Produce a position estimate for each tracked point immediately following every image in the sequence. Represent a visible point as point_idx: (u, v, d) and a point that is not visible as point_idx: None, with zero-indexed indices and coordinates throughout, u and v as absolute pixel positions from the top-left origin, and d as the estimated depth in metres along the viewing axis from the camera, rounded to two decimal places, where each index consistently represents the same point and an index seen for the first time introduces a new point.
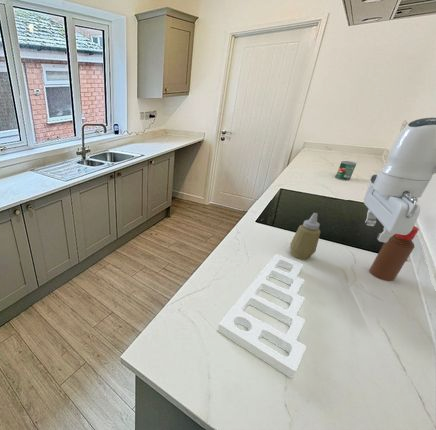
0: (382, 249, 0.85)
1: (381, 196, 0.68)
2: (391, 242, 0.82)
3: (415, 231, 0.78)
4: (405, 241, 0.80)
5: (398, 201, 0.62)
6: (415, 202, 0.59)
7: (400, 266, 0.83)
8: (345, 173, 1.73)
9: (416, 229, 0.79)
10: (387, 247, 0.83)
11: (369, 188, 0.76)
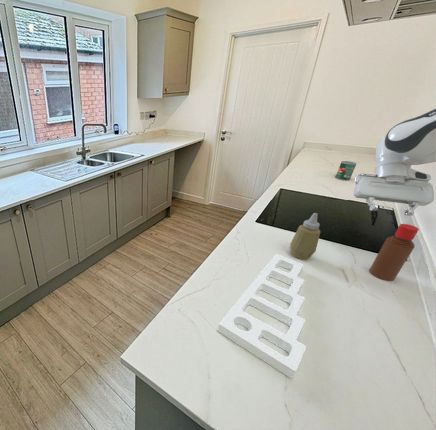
0: (382, 249, 0.85)
1: None
2: (391, 242, 0.82)
3: (415, 231, 0.78)
4: (405, 241, 0.80)
5: None
6: None
7: (400, 266, 0.83)
8: (345, 173, 1.73)
9: (416, 229, 0.79)
10: (387, 247, 0.83)
11: None
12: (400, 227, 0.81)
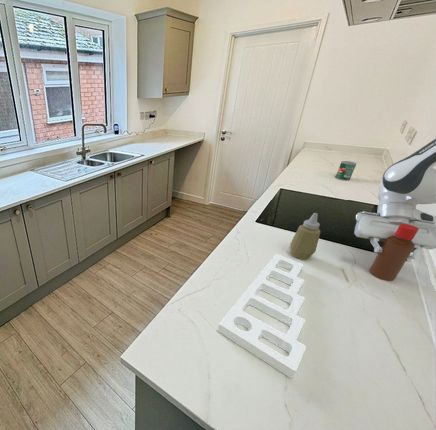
0: None
1: None
2: (391, 242, 0.82)
3: (415, 231, 0.78)
4: (405, 241, 0.80)
5: None
6: None
7: (400, 266, 0.83)
8: (345, 173, 1.73)
9: (416, 229, 0.79)
10: (387, 247, 0.83)
11: None
12: (400, 227, 0.81)
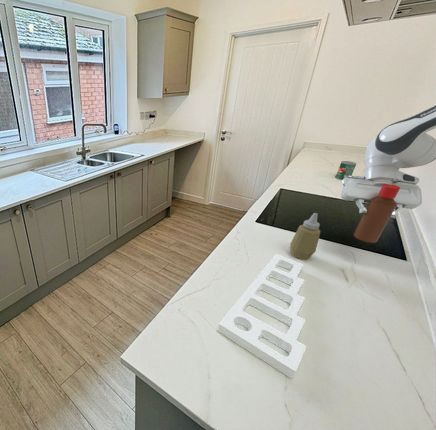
0: None
1: None
2: (375, 202, 0.86)
3: (397, 189, 0.83)
4: (387, 200, 0.85)
5: None
6: None
7: (383, 225, 0.87)
8: (345, 173, 1.73)
9: (398, 187, 0.83)
10: (371, 206, 0.87)
11: None
12: (383, 186, 0.85)
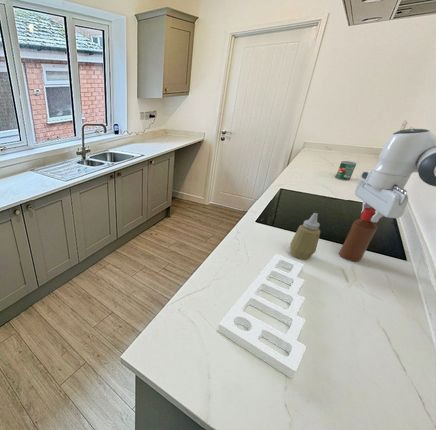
0: (350, 231, 0.96)
1: (375, 189, 0.86)
2: (357, 224, 0.93)
3: None
4: (369, 223, 0.91)
5: (391, 193, 0.81)
6: (405, 193, 0.78)
7: (365, 246, 0.93)
8: (345, 173, 1.73)
9: None
10: (354, 228, 0.94)
11: (360, 182, 0.95)
12: (364, 210, 0.91)
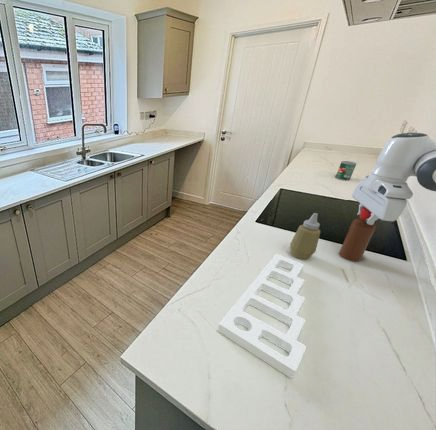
0: (349, 231, 0.96)
1: None
2: (356, 224, 0.93)
3: None
4: None
5: None
6: None
7: (365, 245, 0.93)
8: (345, 173, 1.73)
9: (364, 207, 0.92)
10: (353, 228, 0.94)
11: None
12: None
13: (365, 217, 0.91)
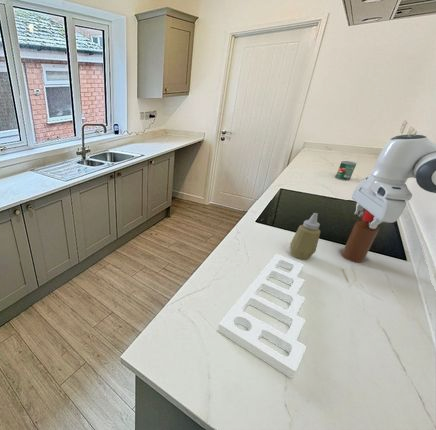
0: (352, 232, 0.95)
1: None
2: (358, 226, 0.92)
3: None
4: None
5: None
6: None
7: (368, 246, 0.92)
8: (345, 173, 1.73)
9: None
10: (356, 230, 0.93)
11: None
12: None
13: (368, 219, 0.89)
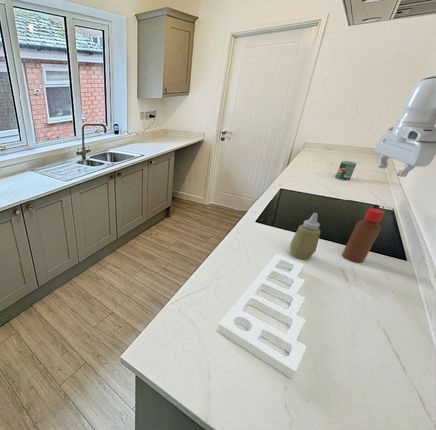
0: (353, 232, 0.95)
1: None
2: (360, 225, 0.92)
3: None
4: (372, 224, 0.90)
5: None
6: None
7: (369, 247, 0.93)
8: (345, 173, 1.73)
9: (370, 208, 0.91)
10: (357, 229, 0.93)
11: None
12: None
13: (370, 218, 0.90)
